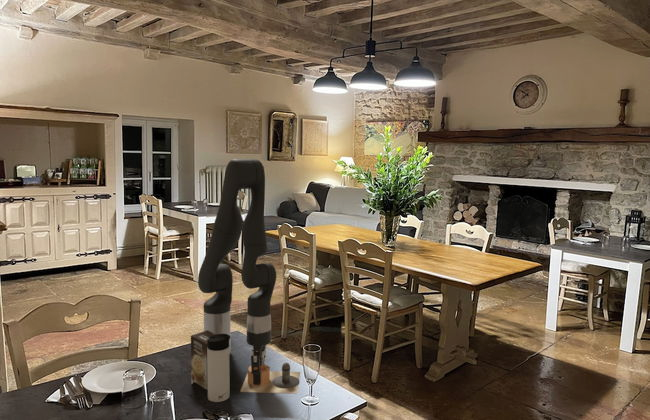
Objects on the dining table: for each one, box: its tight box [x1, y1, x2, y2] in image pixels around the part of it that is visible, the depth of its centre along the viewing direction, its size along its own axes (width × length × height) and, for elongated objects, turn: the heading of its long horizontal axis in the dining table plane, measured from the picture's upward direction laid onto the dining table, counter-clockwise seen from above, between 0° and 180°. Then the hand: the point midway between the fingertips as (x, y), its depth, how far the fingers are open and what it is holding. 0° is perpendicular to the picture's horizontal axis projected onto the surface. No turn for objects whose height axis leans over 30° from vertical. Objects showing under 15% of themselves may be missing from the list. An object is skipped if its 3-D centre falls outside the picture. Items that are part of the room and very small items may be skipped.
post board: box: [239, 362, 301, 395], centre depth 149 cm, size 17×14×8 cm
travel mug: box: [207, 334, 231, 403], centre depth 138 cm, size 6×7×20 cm
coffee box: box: [190, 330, 216, 391], centre depth 148 cm, size 9×6×16 cm
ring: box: [247, 363, 271, 386], centre depth 149 cm, size 6×6×4 cm
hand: (258, 378), depth 149 cm, fingers closed on ring, 6 cm apart
